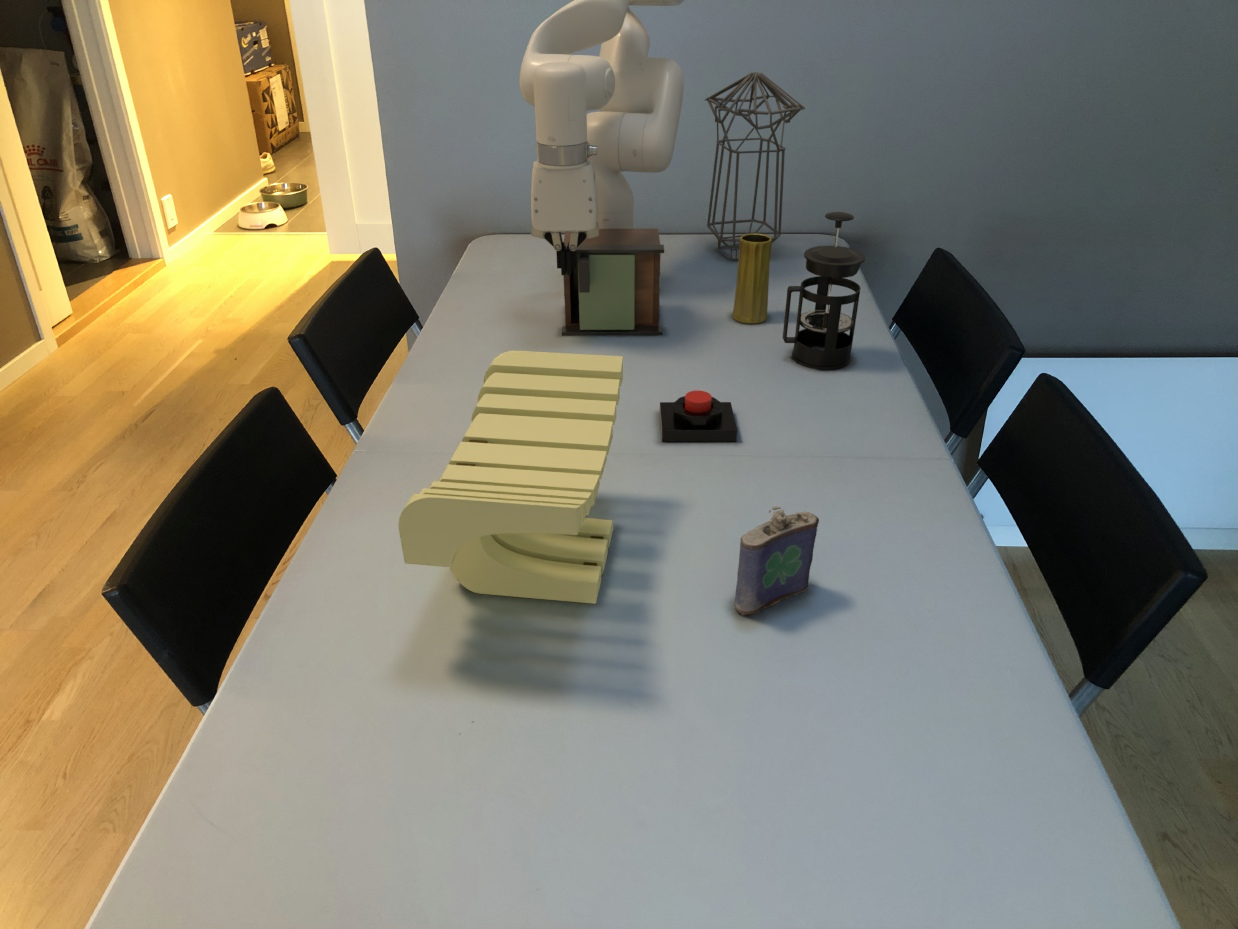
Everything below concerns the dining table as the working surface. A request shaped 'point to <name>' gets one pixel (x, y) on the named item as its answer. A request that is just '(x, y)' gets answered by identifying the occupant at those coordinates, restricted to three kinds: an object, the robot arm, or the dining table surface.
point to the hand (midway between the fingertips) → (566, 272)
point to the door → (606, 291)
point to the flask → (775, 560)
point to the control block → (697, 423)
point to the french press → (825, 322)
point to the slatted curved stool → (525, 482)
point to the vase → (752, 279)
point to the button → (698, 401)
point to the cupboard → (646, 279)
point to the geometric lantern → (760, 79)
